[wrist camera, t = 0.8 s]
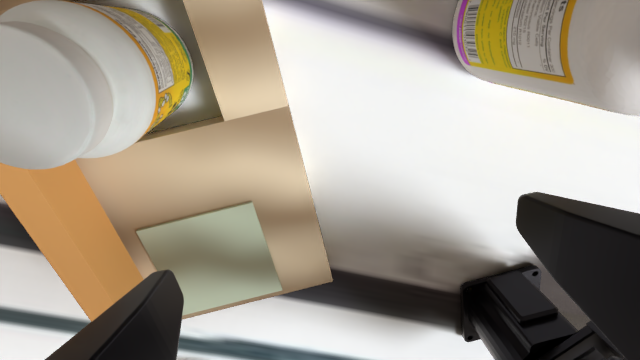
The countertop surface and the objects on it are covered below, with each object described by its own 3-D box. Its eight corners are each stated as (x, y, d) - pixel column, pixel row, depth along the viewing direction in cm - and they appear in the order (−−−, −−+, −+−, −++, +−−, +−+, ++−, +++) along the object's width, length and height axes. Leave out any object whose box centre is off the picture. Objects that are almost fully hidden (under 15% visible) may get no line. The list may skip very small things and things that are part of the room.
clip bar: (-88, -48, 13) (-227, -78, 10) (-38, -60, 13) (-158, -93, 10) (128, 299, 21) (97, 355, 18) (158, 291, 21) (133, 346, 18)
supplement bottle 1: (166, -6, 17) (44, -43, 8) (212, 98, 19) (158, 158, 10) (64, 29, 17) (-166, 31, 8) (122, 128, 19) (-7, 213, 10)
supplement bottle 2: (581, 8, 19) (1047, -24, 8) (496, 102, 21) (771, 193, 9) (510, -81, 17) (1017, -319, 5) (422, 33, 19) (661, 40, 7)
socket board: (329, 266, 25) (333, 283, 23) (143, 313, 24) (134, 333, 23) (235, -104, 15) (230, -120, 14) (-69, -35, 15) (-110, -42, 13)
